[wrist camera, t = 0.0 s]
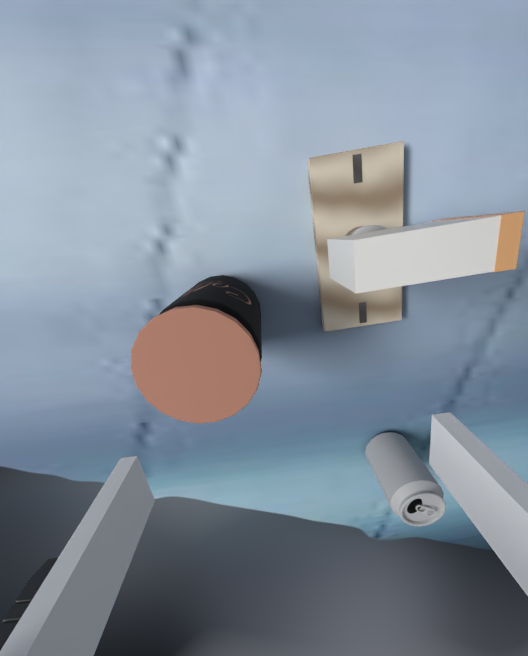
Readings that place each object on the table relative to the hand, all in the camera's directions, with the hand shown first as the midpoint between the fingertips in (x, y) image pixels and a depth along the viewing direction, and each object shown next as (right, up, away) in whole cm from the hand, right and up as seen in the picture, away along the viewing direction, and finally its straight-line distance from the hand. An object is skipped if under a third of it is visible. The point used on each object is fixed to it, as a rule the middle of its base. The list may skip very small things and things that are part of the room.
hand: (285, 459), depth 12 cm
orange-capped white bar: (+12, +15, +18) cm, 27 cm away
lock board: (+12, +17, +24) cm, 32 cm away
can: (+20, -15, +35) cm, 44 cm away
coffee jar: (-7, +8, +27) cm, 29 cm away
